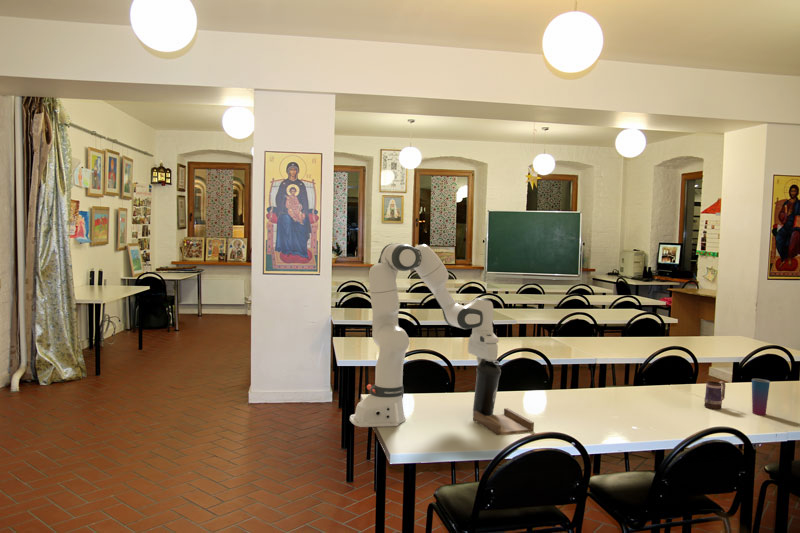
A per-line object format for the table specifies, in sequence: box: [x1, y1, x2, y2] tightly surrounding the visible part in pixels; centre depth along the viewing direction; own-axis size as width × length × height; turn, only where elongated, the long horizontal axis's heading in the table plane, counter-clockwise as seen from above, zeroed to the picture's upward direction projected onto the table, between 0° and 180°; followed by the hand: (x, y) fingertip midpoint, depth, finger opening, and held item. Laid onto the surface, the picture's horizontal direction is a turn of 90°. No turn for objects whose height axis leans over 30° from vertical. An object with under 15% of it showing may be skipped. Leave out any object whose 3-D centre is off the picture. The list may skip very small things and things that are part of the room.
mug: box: [704, 380, 726, 411], centre depth 263 cm, size 10×7×12 cm
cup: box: [751, 378, 771, 416], centre depth 254 cm, size 7×7×15 cm
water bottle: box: [472, 359, 502, 416], centre depth 241 cm, size 10×10×23 cm
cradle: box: [472, 407, 535, 436], centre depth 228 cm, size 16×20×4 cm
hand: (481, 367), depth 246 cm, fingers closed
